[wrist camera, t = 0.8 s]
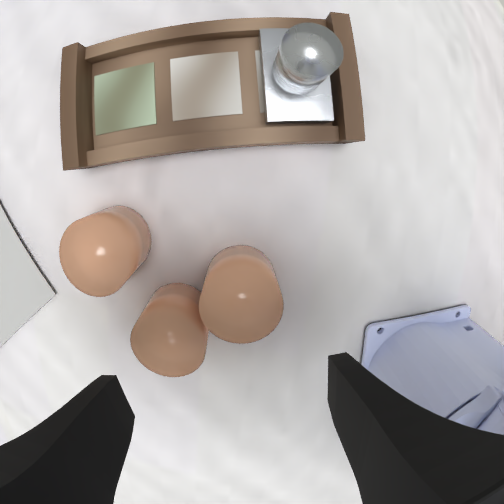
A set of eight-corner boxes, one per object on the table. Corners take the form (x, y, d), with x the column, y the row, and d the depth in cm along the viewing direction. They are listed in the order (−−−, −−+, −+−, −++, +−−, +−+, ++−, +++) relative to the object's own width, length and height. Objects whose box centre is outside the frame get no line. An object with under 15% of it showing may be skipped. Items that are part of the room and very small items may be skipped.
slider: (317, 38, 13) (343, 1, 9) (327, 123, 15) (360, 110, 10) (258, 37, 13) (265, -4, 9) (265, 124, 15) (276, 108, 10)
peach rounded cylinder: (206, 280, 18) (199, 311, 14) (214, 338, 19) (210, 376, 16) (143, 284, 18) (122, 314, 14) (155, 340, 19) (140, 376, 16)
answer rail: (333, 34, 14) (348, 14, 12) (344, 143, 16) (365, 140, 13) (85, 61, 14) (62, 47, 11) (88, 168, 16) (63, 170, 13)
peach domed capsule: (272, 242, 18) (281, 264, 14) (275, 305, 19) (284, 339, 15) (202, 248, 18) (193, 271, 14) (210, 310, 19) (205, 345, 15)
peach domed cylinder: (146, 201, 17) (121, 212, 13) (155, 268, 18) (136, 295, 14) (86, 210, 17) (52, 223, 13) (98, 272, 18) (69, 297, 14)
